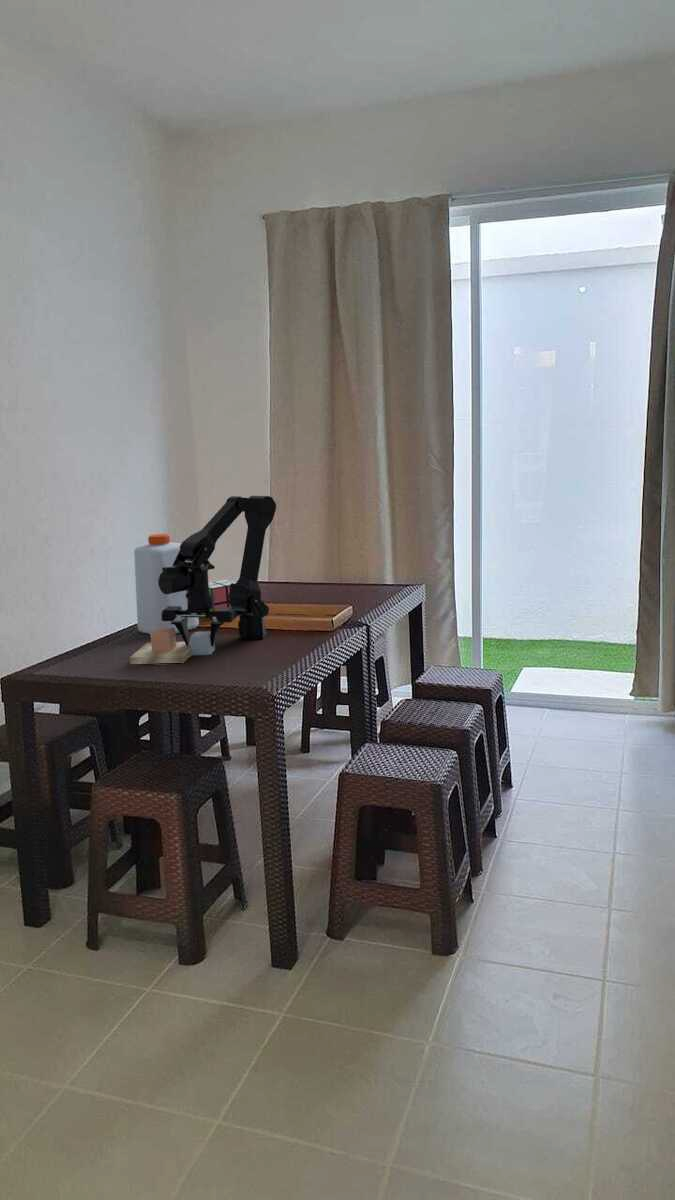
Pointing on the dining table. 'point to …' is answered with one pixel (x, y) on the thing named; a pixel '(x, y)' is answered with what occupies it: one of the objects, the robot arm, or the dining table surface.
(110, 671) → the dining table surface
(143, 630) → the plastic bottle
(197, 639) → the slate block
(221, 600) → the puzzle cube
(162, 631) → the terracotta block
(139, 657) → the birch board
